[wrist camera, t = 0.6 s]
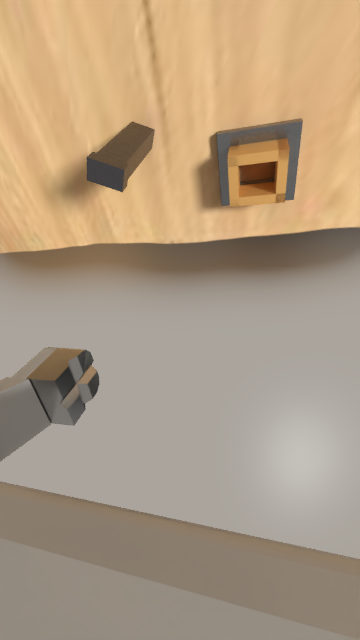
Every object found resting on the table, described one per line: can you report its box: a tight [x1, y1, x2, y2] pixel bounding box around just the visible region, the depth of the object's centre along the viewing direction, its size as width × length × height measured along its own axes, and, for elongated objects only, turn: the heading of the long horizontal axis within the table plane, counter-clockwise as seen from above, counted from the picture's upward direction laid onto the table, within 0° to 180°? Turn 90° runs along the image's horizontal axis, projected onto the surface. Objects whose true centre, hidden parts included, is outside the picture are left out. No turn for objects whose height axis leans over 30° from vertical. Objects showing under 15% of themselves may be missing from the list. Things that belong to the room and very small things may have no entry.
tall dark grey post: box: [87, 122, 155, 192], centre depth 43 cm, size 5×3×18 cm, turn 75°
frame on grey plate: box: [217, 119, 303, 207], centre depth 47 cm, size 13×12×6 cm
